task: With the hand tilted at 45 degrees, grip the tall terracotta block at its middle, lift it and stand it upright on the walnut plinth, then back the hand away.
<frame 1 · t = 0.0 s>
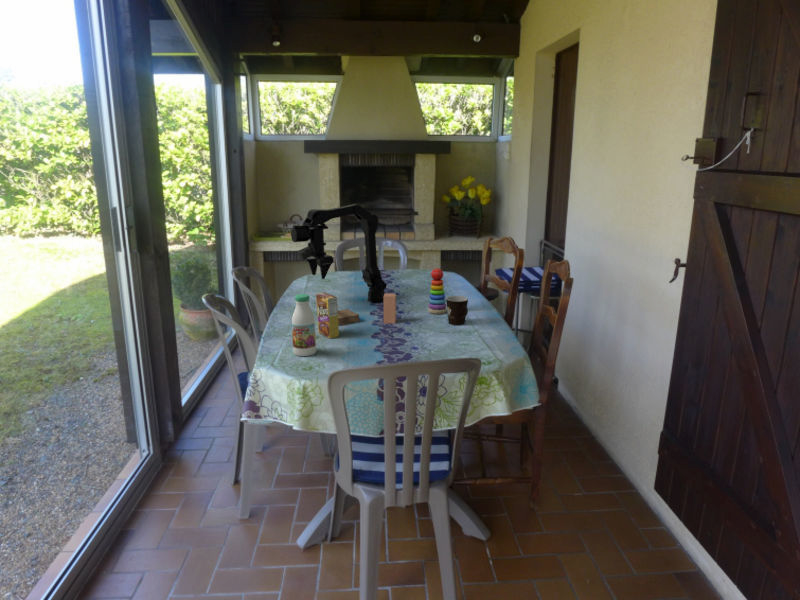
hand: (318, 277, 234), 15 cm above the table, tool pointing down, fingers open, 9 cm apart
terracotta block: (390, 321, 222), on the table
candy box: (328, 335, 206), on the table
coffee mug: (456, 324, 218), on the table
milk bottle: (304, 353, 187), on the table
stacking toy: (437, 312, 235), on the table
walnut plinth: (342, 320, 223), on the table
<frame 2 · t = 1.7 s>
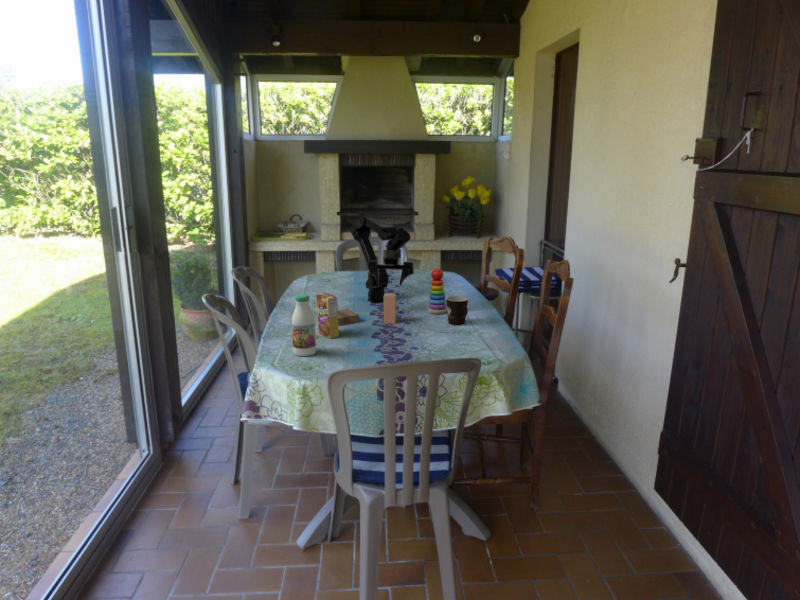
hand: (388, 284, 225), 13 cm above the table, tool tilted 45°, fingers open, 9 cm apart
nothing on the table moved.
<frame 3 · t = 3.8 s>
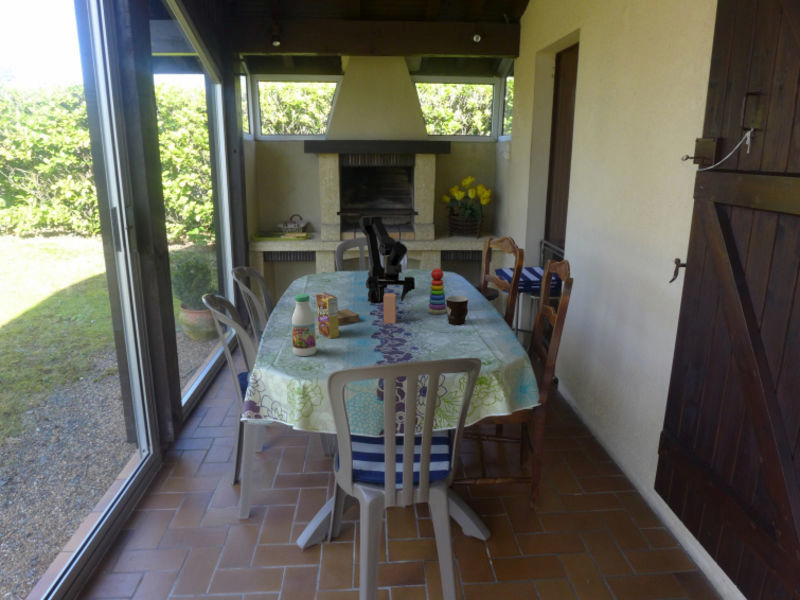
hand: (390, 300, 220), 8 cm above the table, tool tilted 45°, fingers open, 9 cm apart
nothing on the table moved.
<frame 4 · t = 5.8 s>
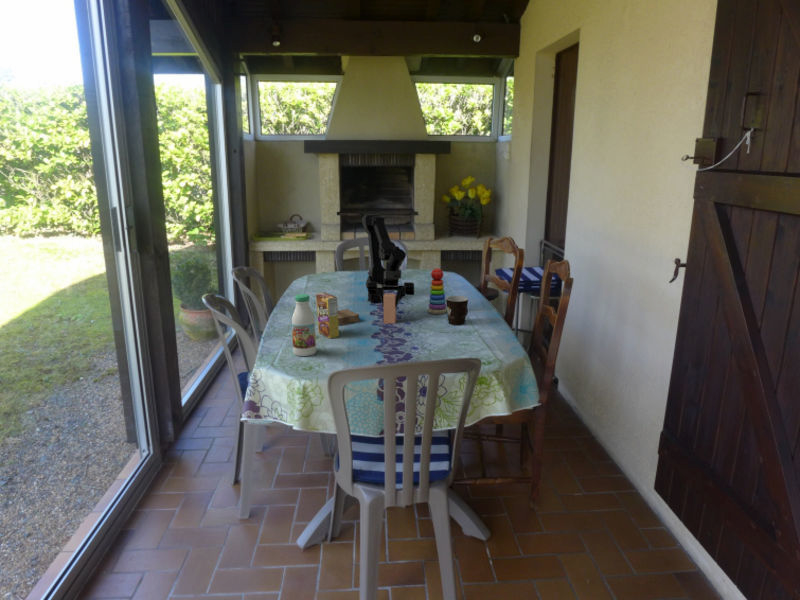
hand: (389, 306, 219), 7 cm above the table, tool tilted 45°, fingers closed on terracotta block, 4 cm apart
terracotta block: (390, 321, 222), on the table, touching gripper
everything else where it was.
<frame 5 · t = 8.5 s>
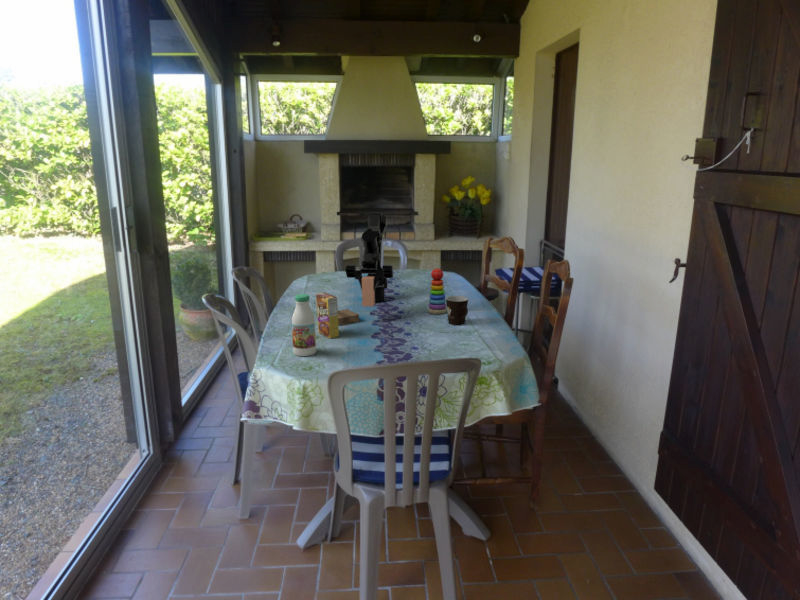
hand: (367, 289, 217), 13 cm above the table, tool tilted 45°, fingers closed on terracotta block, 4 cm apart
terracotta block: (368, 304, 220), point 7 cm above the table, touching gripper
everything else where it was.
when the fingers open (11 cm above the table, at t = 11.3 s): terracotta block drops 1 cm, resting on walnut plinth.
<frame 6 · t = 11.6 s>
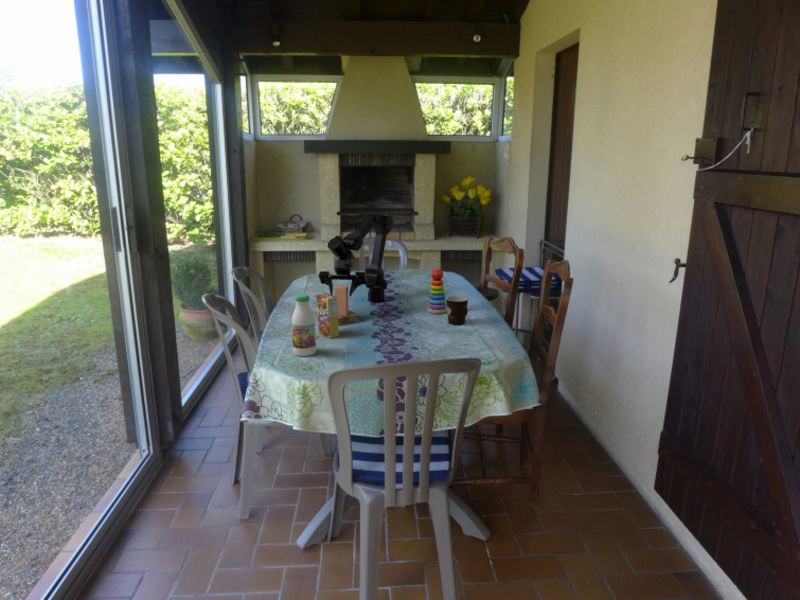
hand: (340, 295, 219), 11 cm above the table, tool tilted 45°, fingers open, 7 cm apart
terracotta block: (341, 313, 222), point 3 cm above the table, touching walnut plinth
everything else where it was.
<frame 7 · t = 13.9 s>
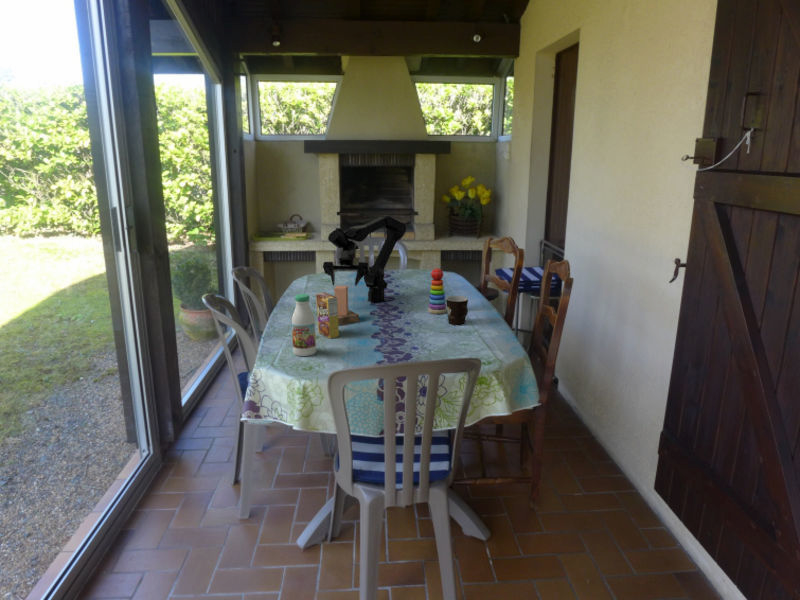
hand: (344, 285, 226), 13 cm above the table, tool tilted 45°, fingers open, 9 cm apart
nothing on the table moved.
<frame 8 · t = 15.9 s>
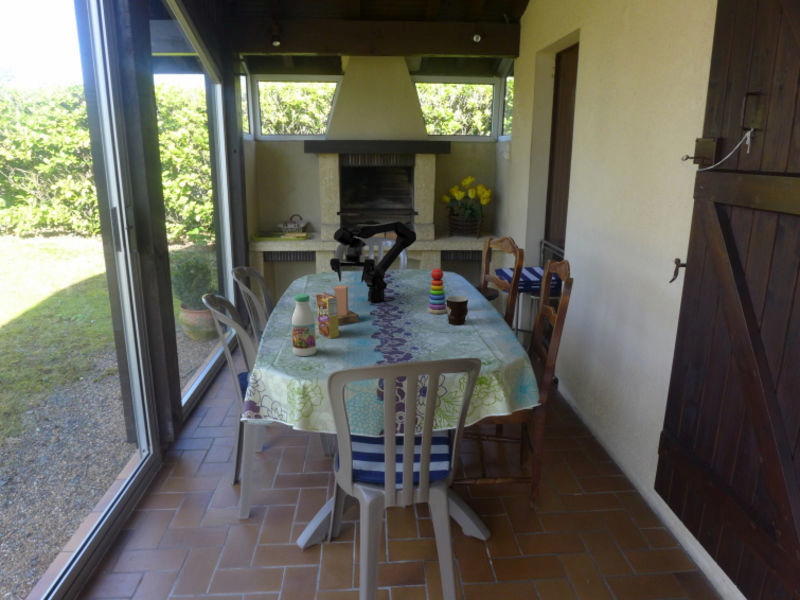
hand: (350, 281, 230), 14 cm above the table, tool tilted 45°, fingers open, 9 cm apart
nothing on the table moved.
at the end: terracotta block inside the target area on the walnut plinth (0.0 cm from its centre), point 3.0 cm above the walnut plinth's base; terracotta block tilted 0°; the gripper is holding nothing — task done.
